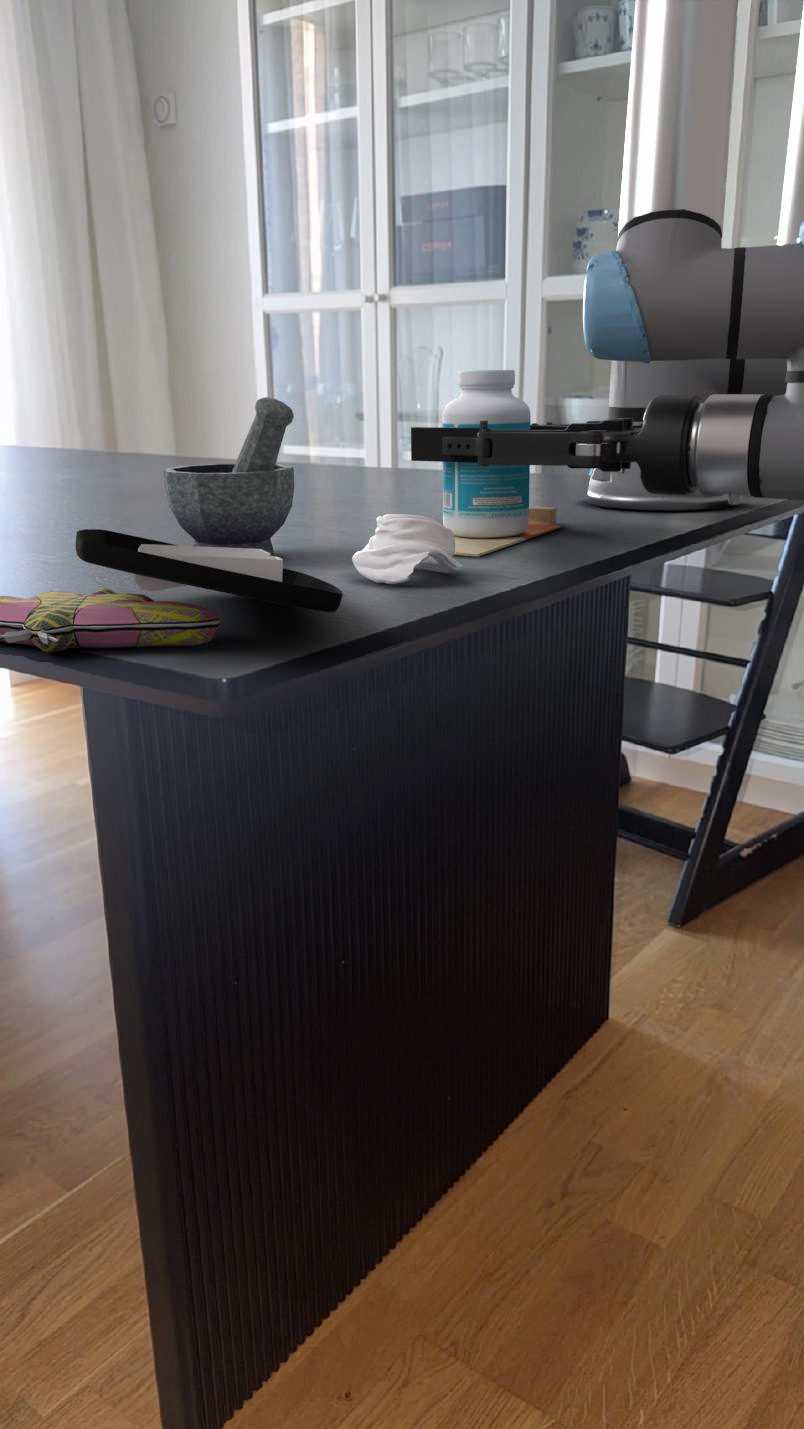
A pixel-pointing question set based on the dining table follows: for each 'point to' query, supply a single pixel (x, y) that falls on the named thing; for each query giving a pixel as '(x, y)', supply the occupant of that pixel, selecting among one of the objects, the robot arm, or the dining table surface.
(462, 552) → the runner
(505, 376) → the pill bottle
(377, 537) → the white folded cloth ring
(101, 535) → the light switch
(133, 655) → the dining table surface
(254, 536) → the mortar and pestle
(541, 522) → the stop bar
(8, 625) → the patterned fabric pouch
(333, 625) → the dining table surface
